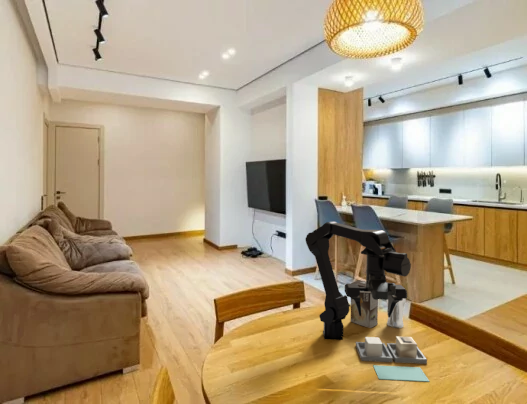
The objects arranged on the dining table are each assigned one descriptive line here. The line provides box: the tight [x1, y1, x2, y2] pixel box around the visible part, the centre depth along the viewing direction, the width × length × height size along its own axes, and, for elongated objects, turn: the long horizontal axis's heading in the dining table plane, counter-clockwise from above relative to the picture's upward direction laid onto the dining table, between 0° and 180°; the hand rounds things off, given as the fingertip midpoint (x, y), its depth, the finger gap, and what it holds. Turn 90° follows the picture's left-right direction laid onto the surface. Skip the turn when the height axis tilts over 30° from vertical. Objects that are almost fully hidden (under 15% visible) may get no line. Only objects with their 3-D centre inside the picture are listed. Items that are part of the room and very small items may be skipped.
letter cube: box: [395, 335, 418, 358], centre depth 111 cm, size 5×5×5 cm
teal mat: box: [372, 364, 430, 383], centre depth 101 cm, size 14×7×1 cm, turn 85°
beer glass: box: [386, 298, 407, 329], centre depth 134 cm, size 7×7×15 cm
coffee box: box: [350, 279, 379, 329], centre depth 136 cm, size 9×6×16 cm
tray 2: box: [386, 342, 428, 365], centre depth 111 cm, size 10×10×2 cm
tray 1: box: [355, 341, 394, 363], centre depth 112 cm, size 10×10×2 cm
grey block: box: [364, 336, 383, 356], centre depth 112 cm, size 4×4×4 cm
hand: (374, 316), depth 111 cm, fingers open, 9 cm apart
